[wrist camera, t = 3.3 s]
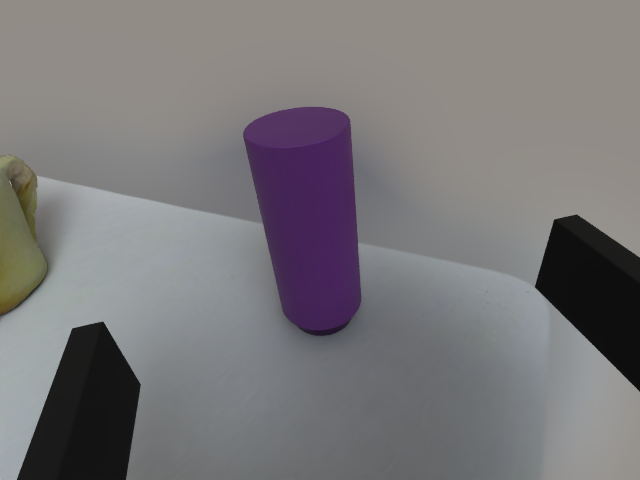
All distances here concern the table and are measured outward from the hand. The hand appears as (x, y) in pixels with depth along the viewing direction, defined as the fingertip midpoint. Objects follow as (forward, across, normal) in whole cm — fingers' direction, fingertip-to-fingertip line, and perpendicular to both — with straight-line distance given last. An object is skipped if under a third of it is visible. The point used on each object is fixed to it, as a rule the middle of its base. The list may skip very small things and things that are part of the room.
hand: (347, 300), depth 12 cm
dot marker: (+8, 0, -8) cm, 11 cm away
